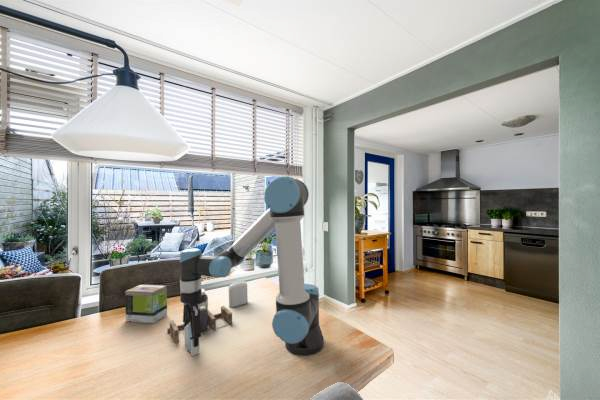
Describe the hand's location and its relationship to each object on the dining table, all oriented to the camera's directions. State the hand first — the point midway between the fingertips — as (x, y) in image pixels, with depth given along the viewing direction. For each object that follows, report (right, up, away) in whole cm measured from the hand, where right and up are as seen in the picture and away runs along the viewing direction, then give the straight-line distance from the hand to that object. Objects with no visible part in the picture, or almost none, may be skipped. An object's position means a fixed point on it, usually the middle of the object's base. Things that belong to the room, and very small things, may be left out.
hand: (191, 347), depth 96 cm
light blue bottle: (0, 0, 0) cm, 0 cm away
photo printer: (+8, 0, +39) cm, 40 cm away
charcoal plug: (-1, 0, +13) cm, 13 cm away
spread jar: (-11, 0, +30) cm, 31 cm away
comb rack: (-3, 0, +16) cm, 16 cm away
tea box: (-33, -1, +25) cm, 41 cm away
